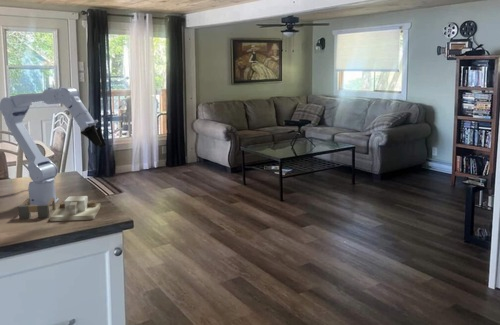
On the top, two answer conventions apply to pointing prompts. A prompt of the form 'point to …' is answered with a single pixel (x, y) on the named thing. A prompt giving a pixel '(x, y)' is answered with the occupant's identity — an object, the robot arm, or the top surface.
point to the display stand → (76, 209)
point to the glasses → (34, 209)
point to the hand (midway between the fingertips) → (101, 145)
